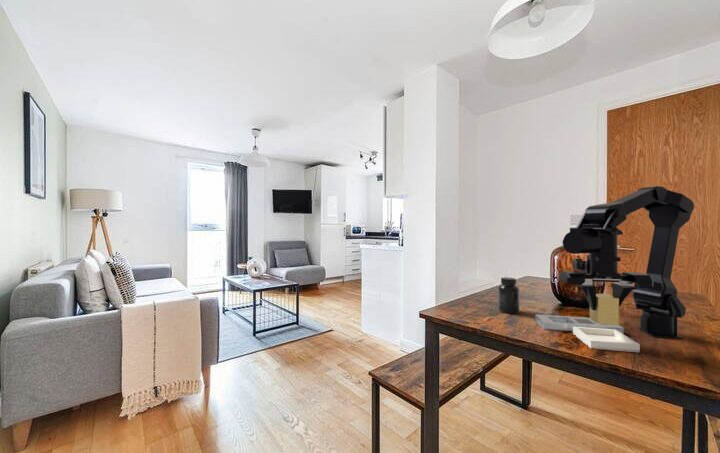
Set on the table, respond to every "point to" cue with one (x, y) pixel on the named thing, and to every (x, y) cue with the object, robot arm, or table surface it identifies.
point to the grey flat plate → (571, 323)
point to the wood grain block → (606, 310)
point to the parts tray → (606, 339)
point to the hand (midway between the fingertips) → (603, 310)
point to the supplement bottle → (508, 296)
